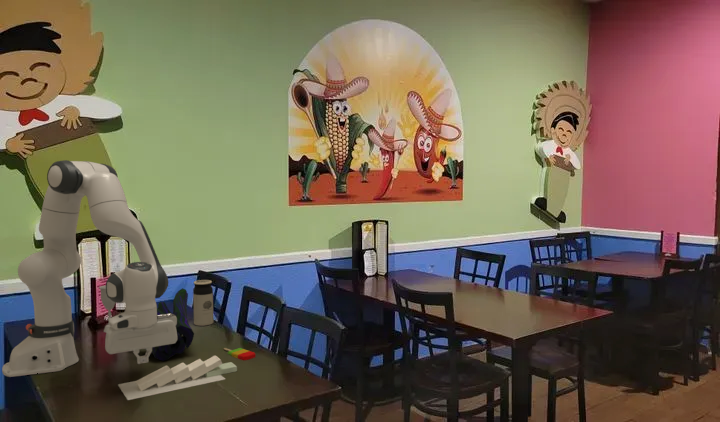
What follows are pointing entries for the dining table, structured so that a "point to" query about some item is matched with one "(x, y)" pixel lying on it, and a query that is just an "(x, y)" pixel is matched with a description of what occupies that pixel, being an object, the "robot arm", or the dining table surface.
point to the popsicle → (241, 353)
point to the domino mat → (164, 386)
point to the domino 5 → (222, 369)
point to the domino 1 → (154, 378)
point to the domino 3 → (192, 370)
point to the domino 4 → (208, 366)
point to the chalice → (106, 304)
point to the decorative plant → (181, 327)
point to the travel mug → (203, 302)
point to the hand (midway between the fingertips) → (142, 362)
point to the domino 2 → (174, 374)
